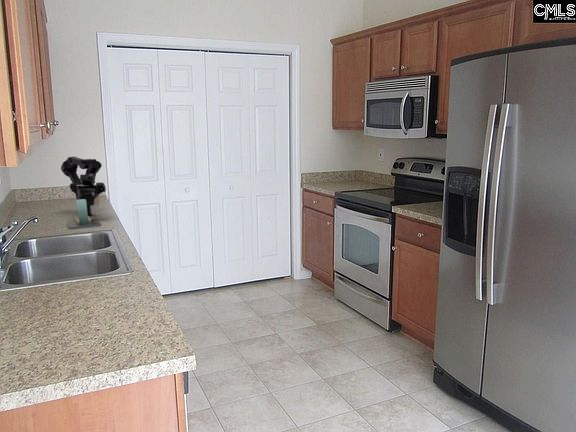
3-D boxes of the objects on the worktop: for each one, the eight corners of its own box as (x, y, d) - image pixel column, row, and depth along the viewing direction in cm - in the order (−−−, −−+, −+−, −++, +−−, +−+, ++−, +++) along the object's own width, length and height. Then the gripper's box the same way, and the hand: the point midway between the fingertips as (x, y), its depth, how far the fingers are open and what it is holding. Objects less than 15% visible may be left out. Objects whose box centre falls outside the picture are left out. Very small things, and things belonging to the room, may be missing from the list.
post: (78, 222, 262) (75, 199, 260) (87, 221, 265) (85, 198, 262) (79, 224, 258) (76, 201, 256) (89, 223, 261) (86, 200, 258)
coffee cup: (86, 210, 306) (83, 187, 303) (101, 209, 309) (98, 186, 306) (85, 212, 298) (83, 189, 295) (100, 211, 301) (98, 188, 298)
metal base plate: (66, 224, 265) (65, 216, 264) (96, 220, 272) (96, 213, 272) (69, 229, 251) (68, 221, 250) (101, 225, 259) (100, 218, 258)
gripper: (68, 169, 267) (63, 191, 259) (102, 168, 269) (98, 190, 260) (75, 181, 276) (70, 202, 268) (107, 180, 278) (103, 201, 269)
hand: (85, 199), depth 266 cm, fingers open, 9 cm apart
